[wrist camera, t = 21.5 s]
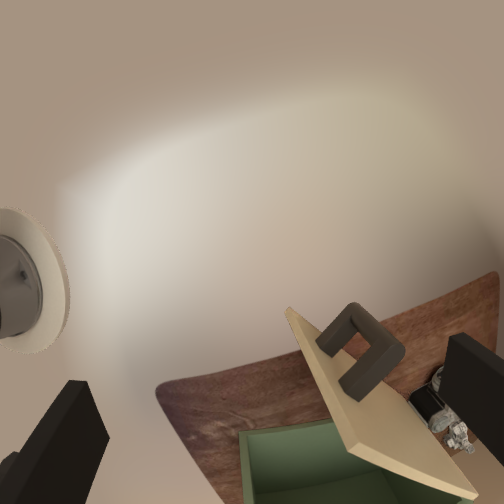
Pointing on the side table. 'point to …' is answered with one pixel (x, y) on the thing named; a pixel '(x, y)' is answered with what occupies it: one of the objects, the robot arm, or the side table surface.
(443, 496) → the cupboard
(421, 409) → the camera
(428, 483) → the cupboard door
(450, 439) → the house of cards
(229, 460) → the side table surface
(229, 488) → the side table surface
